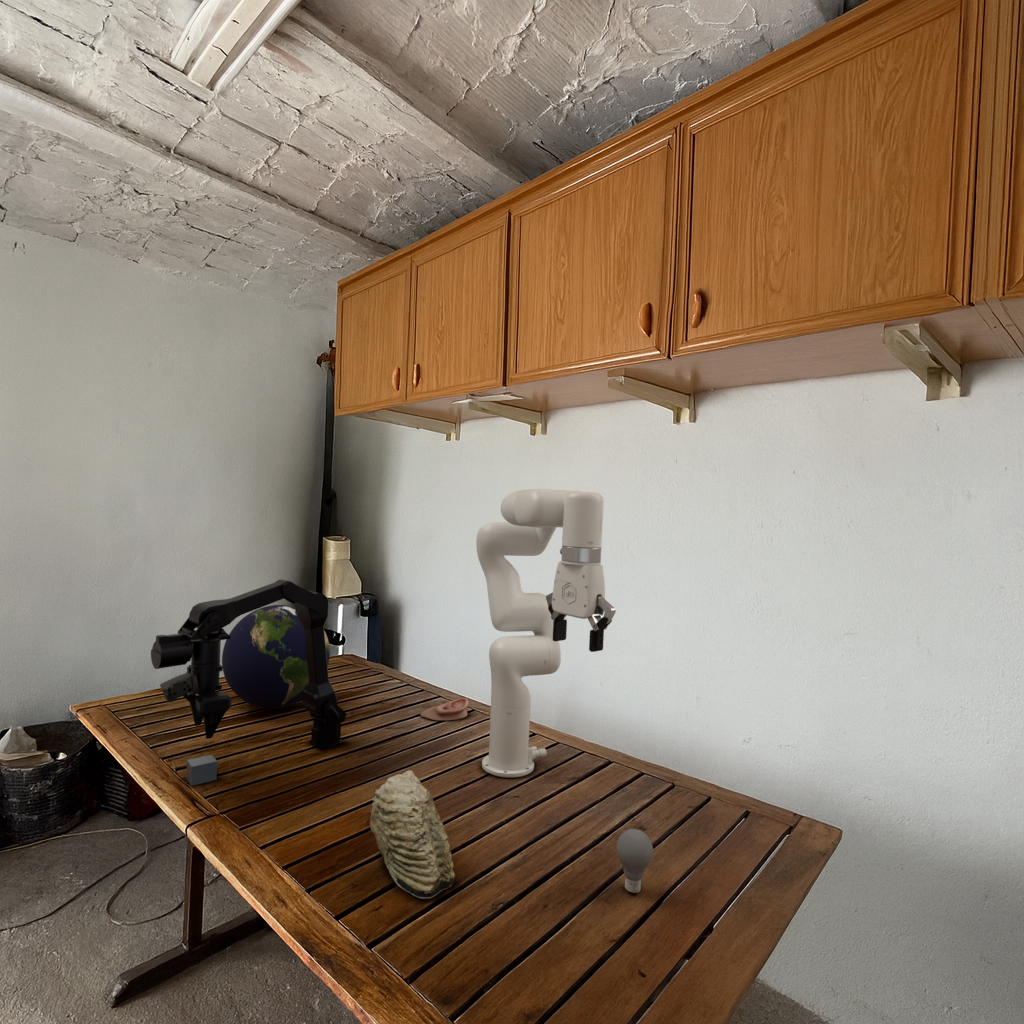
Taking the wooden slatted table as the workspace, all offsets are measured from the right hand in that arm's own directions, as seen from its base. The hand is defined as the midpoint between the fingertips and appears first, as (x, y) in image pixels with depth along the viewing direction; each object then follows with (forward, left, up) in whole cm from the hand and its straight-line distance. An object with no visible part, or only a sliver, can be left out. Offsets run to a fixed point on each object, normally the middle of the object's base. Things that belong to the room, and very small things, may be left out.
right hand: (577, 645), depth 121 cm
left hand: (+65, -49, -27) cm, 85 cm away
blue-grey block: (+65, -49, -37) cm, 89 cm away
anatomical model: (+1, -73, -37) cm, 82 cm away
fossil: (+31, 0, -37) cm, 49 cm away
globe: (+47, -94, -37) cm, 111 cm away
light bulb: (-2, +18, -37) cm, 42 cm away
